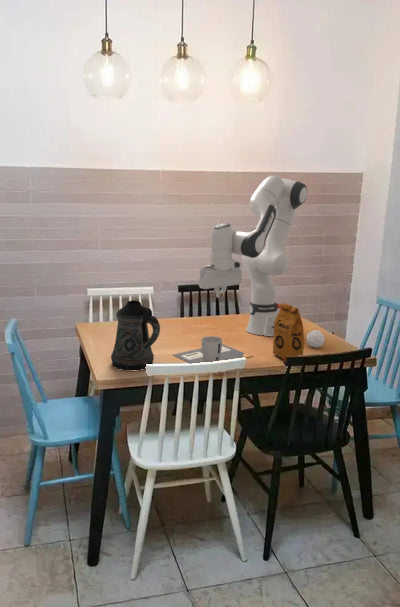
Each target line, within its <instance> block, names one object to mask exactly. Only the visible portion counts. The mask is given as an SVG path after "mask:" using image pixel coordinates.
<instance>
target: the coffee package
mask: <svg viewBox="0 0 400 607" xmlns="http://www.w3.org/2000/svg"><path fill="white" fill-rule="evenodd" d="M279 304H280V307H281V309H279V310H278V311H279V313H278V315H277V317H276V319H275V321H274V336H273V340H272V354H273V355H275V356H277V357H279V358H280V357H281V358H280V359H282V360H284V357H285V356H298V355H303V356H304V346H305V332H304V325H303V321H302V317H301V313H300V310H299V308H298V307H296V306H294V305H291V304H287V303H285V302H281V303H279Z"/></svg>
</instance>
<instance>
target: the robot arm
mask: <svg viewBox="0 0 400 607" xmlns="http://www.w3.org/2000/svg"><path fill="white" fill-rule="evenodd" d="M307 196H308V188H307V186H306V184H305V183H303V182H300V181H297V180H294V179H290V178H283V177H282V178H280V177H279V176H277V175H268V177H265V178H264V179H262V181H261V182H260V184H259V185H258V186H257V188H256V189H255V190H254V191H253V193H252V195H251V196H250V199H249V207H250V210H251V211H252V212H253V214H254V215H255V216H256V217H258V218H259V221H258V223H257V224H256V227H255V229H254V230H253V231H240V230H238V229H235V228H234V227H233V226H232V224H230V223H227V222H226V223H225V222H223V223H222V222H221V223H217V224H214V225H213V227H212V229H211V235H210V250H211V252H210V256H209V257H210V258H209V259H210V260H209V265H203V266H202V267H201V268H200V270H199V271H200V272H199V273H200V274H199V279H198V287H199V288H200V289H203V290H209V289H213V290H214V292H215V298H224V297H225V293H226V291H227V288H228V287H230V286H236V285H237V286H238V285H241V283H242V280H243V279H242V276H243V273H242V272H243V271H242V269H241V268H242V265H243V267H244V268H245V270H246V271H247V274H248V277H249V281H250V286H251V287H250V288H251V290H250V291H251V292H250V293H251V295H250V296H251V297H250V298H251V299H250V302H249V319H248V323H247V327H246V332H248V333H249V334H252V335H256V336H263V335H264V337H268V336H270V337H274V321H275V319H276V317H277V315H278V313H279V311H280V309H281V307H280V304H281V303H277V302H275V300H276V286H275V284H274V282H273V281H272V279H271V278H270V276H281V275H282V276H283V275H284V274H285V273H286V272H287V271H288V270H289V265H290V264H289V263H290V262H289V258H288V256H287V254H286V242H287V239H288V237H289V233H290V230H291V228H292V225H293V222H294V221H295V220H294V219H295V215H296V209H298V208H299V207H300V206H302V205H303V204H304V203H305V201H306V200H307ZM233 255H238V256H242V257H241V262H240V261H237V260H234V259H233Z"/></svg>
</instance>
